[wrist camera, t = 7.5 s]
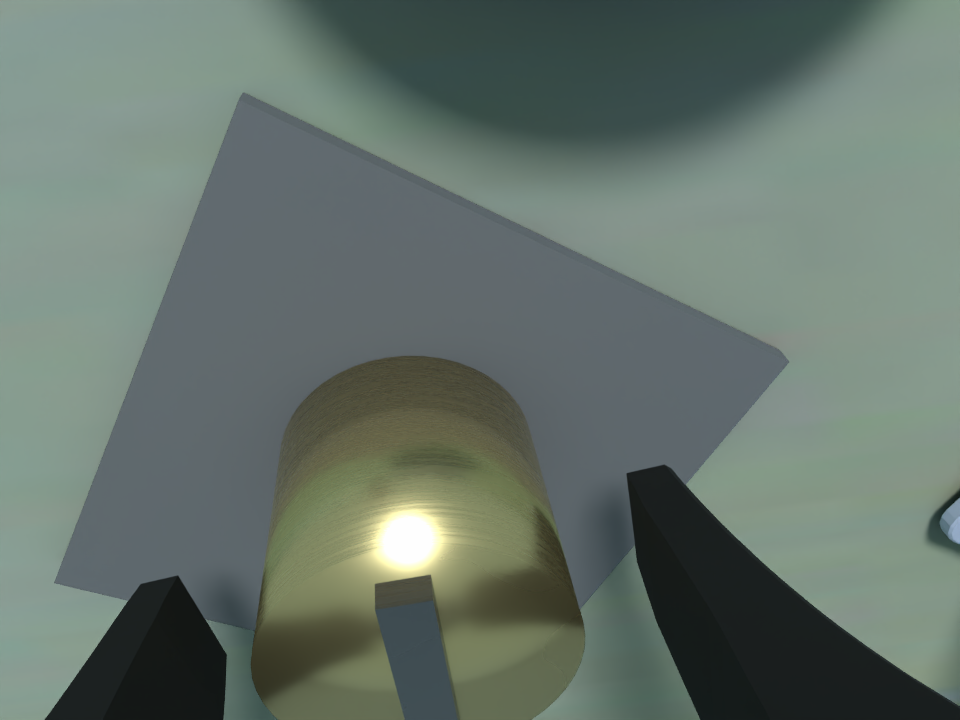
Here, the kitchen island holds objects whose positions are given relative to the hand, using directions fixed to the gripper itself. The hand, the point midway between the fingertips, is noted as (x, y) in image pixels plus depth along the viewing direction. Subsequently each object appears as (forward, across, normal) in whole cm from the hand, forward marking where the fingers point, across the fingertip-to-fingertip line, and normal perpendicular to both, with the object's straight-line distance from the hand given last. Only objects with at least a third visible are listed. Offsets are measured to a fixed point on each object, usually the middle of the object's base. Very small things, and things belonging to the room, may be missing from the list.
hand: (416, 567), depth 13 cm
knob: (+2, 0, 0) cm, 2 cm away
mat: (+3, 0, 0) cm, 3 cm away
